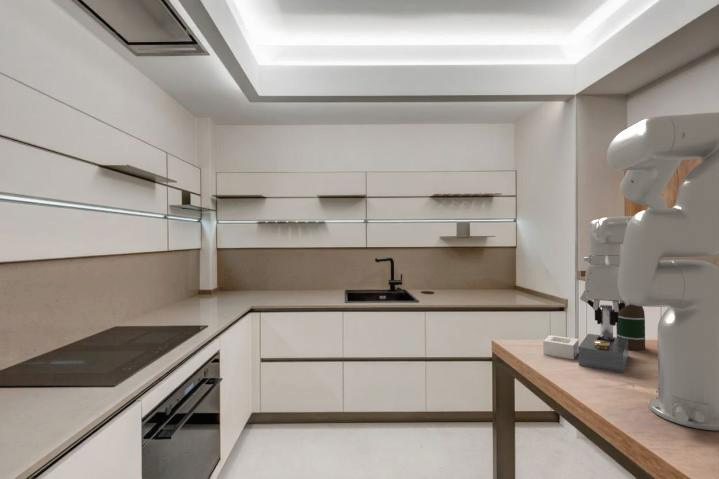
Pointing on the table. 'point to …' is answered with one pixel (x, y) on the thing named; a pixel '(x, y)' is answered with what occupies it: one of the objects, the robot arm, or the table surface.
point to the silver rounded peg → (606, 323)
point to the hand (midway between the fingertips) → (606, 323)
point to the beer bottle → (632, 326)
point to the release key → (601, 344)
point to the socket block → (604, 354)
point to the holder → (561, 347)
